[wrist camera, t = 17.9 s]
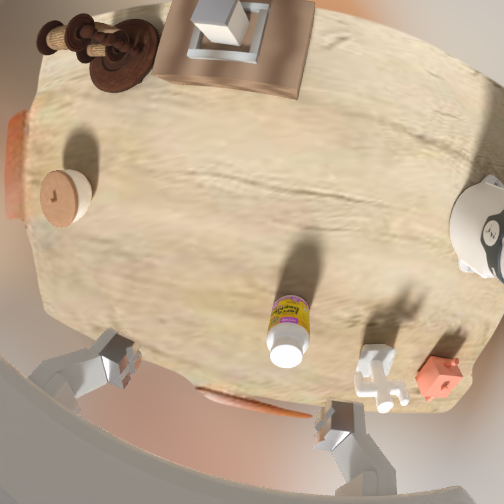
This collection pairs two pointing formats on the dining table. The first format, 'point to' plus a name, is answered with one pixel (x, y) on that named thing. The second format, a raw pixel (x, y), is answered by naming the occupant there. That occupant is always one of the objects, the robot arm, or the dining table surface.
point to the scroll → (105, 49)
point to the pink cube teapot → (438, 377)
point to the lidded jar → (65, 196)
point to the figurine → (379, 377)
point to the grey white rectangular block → (221, 21)
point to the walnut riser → (239, 49)
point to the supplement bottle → (288, 331)
